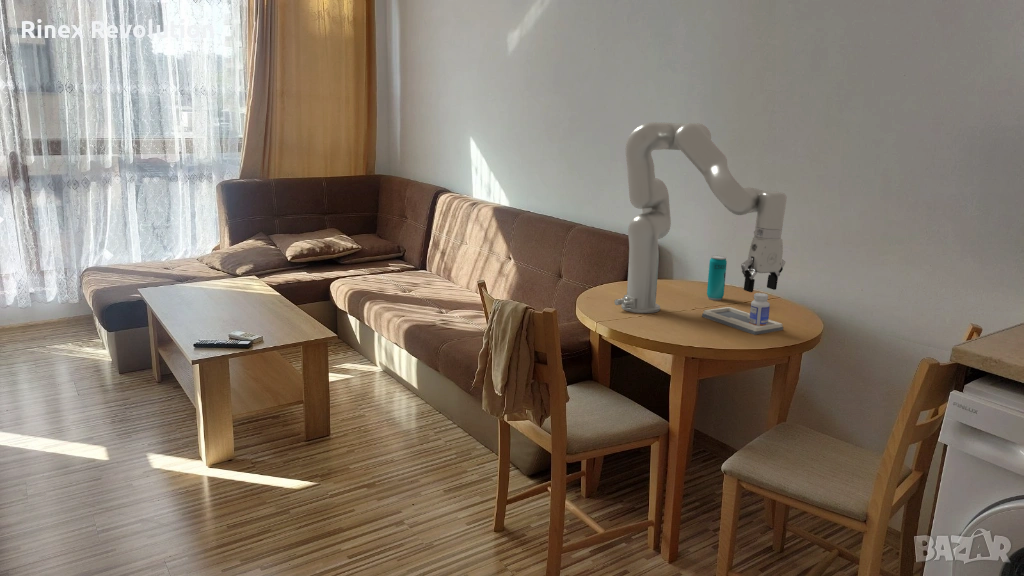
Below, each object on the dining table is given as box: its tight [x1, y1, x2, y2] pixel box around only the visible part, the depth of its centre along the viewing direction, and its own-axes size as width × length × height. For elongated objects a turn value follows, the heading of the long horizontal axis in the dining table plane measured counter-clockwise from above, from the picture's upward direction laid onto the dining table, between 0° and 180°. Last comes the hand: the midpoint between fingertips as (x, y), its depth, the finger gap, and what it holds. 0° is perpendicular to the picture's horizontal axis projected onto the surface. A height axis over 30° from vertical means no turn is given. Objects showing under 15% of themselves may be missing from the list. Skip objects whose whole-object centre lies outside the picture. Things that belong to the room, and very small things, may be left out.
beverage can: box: [706, 255, 728, 301], centre depth 260 cm, size 6×6×15 cm
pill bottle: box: [749, 292, 771, 326], centre depth 225 cm, size 5×5×10 cm
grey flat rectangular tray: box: [701, 306, 784, 336], centre depth 232 cm, size 12×22×2 cm, turn 29°
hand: (759, 289), depth 224 cm, fingers open, 9 cm apart
